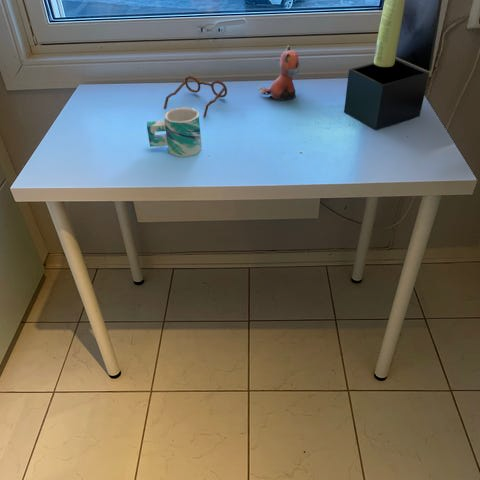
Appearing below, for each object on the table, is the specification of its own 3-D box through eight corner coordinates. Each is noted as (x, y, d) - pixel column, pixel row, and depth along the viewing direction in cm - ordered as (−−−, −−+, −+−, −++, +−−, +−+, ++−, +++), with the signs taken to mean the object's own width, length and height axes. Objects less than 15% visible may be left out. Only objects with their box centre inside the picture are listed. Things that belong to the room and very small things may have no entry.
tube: (400, 63, 126) (417, -33, 112) (392, 69, 123) (408, -28, 109) (377, 59, 128) (392, -36, 114) (369, 65, 125) (383, -31, 111)
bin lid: (439, 0, 114) (456, -7, 116) (400, -13, 122) (416, -18, 123) (428, 71, 126) (444, 64, 127) (393, 56, 133) (408, 50, 135)
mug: (201, 156, 122) (198, 121, 116) (150, 159, 122) (144, 124, 116) (201, 139, 128) (198, 105, 122) (152, 142, 127) (146, 108, 121)
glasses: (228, 99, 144) (227, 80, 141) (204, 118, 136) (203, 99, 133) (187, 91, 149) (185, 73, 145) (162, 109, 141) (160, 90, 137)
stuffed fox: (257, 91, 148) (256, 45, 139) (296, 89, 148) (298, 43, 139) (259, 102, 142) (259, 55, 134) (300, 100, 143) (302, 53, 134)
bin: (375, 130, 129) (382, 86, 121) (343, 112, 137) (348, 69, 129) (419, 116, 134) (429, 72, 126) (386, 99, 142) (394, 57, 134)
